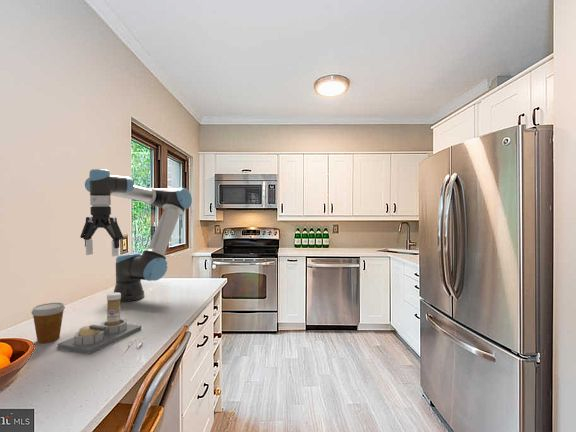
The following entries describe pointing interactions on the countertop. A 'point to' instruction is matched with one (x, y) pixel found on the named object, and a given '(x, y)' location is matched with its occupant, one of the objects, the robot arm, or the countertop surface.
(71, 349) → the gear housing
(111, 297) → the sprinkles bottle
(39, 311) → the disposable coffee cup
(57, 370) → the countertop surface
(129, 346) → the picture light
